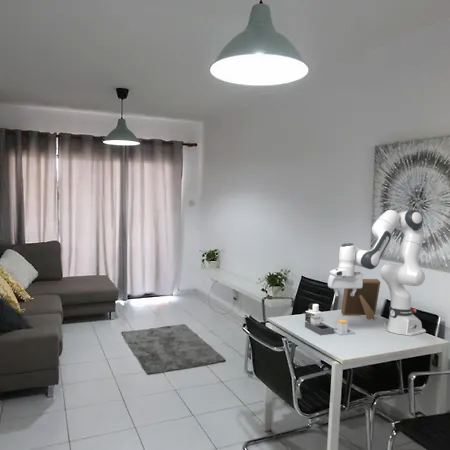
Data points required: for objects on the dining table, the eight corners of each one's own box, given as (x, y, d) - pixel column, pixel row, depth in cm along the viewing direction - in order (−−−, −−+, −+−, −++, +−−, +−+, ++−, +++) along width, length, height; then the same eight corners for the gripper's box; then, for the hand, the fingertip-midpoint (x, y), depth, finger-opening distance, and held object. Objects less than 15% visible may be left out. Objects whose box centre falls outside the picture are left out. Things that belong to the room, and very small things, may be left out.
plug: (343, 331, 243) (343, 319, 242) (347, 333, 239) (347, 321, 238) (337, 332, 241) (337, 320, 241) (341, 334, 237) (341, 322, 237)
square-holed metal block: (304, 328, 249) (305, 321, 248) (317, 327, 252) (318, 320, 252) (320, 337, 234) (320, 329, 233) (333, 335, 237) (333, 328, 237)
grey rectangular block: (316, 326, 249) (316, 315, 249) (320, 328, 245) (320, 317, 245) (310, 327, 248) (310, 315, 247) (314, 329, 244) (314, 317, 243)
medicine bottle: (304, 322, 262) (305, 303, 261) (312, 320, 266) (313, 301, 265) (313, 325, 256) (314, 305, 255) (321, 323, 260) (322, 304, 260)
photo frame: (341, 313, 283) (342, 277, 281) (372, 313, 285) (374, 277, 283) (348, 320, 268) (350, 281, 266) (381, 320, 270) (383, 282, 268)
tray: (344, 330, 247) (344, 327, 246) (355, 335, 237) (355, 332, 237) (329, 332, 243) (329, 328, 243) (340, 337, 234) (340, 333, 234)
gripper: (359, 271, 243) (358, 294, 244) (327, 270, 239) (325, 294, 239) (365, 272, 237) (364, 297, 238) (332, 272, 232) (331, 297, 233)
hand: (344, 296), depth 238 cm, fingers open, 8 cm apart
